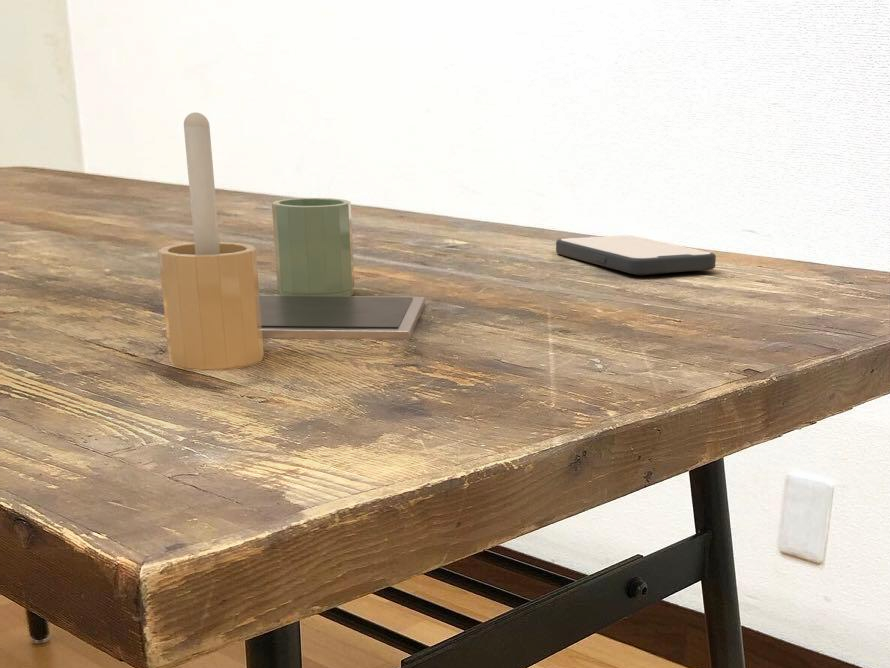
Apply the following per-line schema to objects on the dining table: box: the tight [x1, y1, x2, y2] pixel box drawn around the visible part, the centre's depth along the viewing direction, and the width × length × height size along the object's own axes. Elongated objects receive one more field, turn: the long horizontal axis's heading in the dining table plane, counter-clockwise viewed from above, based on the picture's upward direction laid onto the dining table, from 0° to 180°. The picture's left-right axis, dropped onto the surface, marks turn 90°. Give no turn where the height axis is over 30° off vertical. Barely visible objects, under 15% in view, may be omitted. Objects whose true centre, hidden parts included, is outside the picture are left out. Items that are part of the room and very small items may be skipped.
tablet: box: [161, 294, 426, 341], centre depth 85 cm, size 16×12×1 cm
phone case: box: [555, 234, 717, 277], centre depth 112 cm, size 9×2×16 cm
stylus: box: [183, 112, 220, 255], centre depth 72 cm, size 1×1×14 cm
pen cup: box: [271, 197, 355, 296], centre depth 95 cm, size 6×6×7 cm
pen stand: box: [157, 241, 265, 371], centre depth 73 cm, size 5×6×7 cm
